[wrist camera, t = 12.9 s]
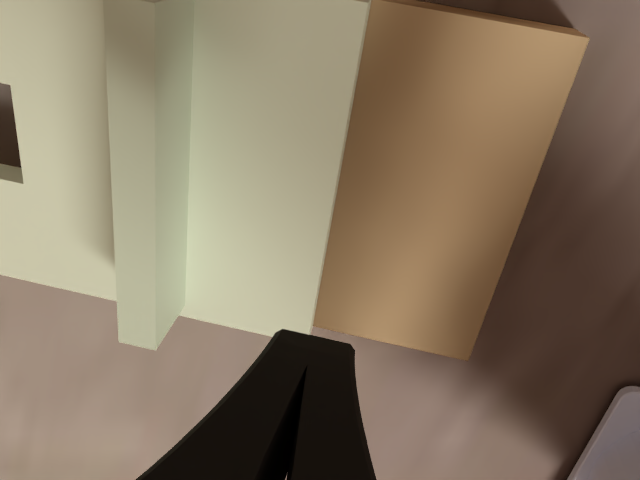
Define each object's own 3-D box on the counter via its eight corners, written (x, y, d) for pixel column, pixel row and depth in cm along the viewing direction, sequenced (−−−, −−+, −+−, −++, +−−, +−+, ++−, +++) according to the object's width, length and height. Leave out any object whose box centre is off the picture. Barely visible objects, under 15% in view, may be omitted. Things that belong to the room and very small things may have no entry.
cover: (371, -2, 14) (357, 15, 11) (312, 326, 20) (292, 395, 17) (-124, -91, 15) (-253, -97, 12) (-50, 245, 21) (-127, 296, 18)
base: (575, 28, 15) (589, 38, 14) (465, 332, 21) (468, 361, 20) (98, -57, 16) (69, -57, 15) (113, 254, 22) (92, 276, 21)
